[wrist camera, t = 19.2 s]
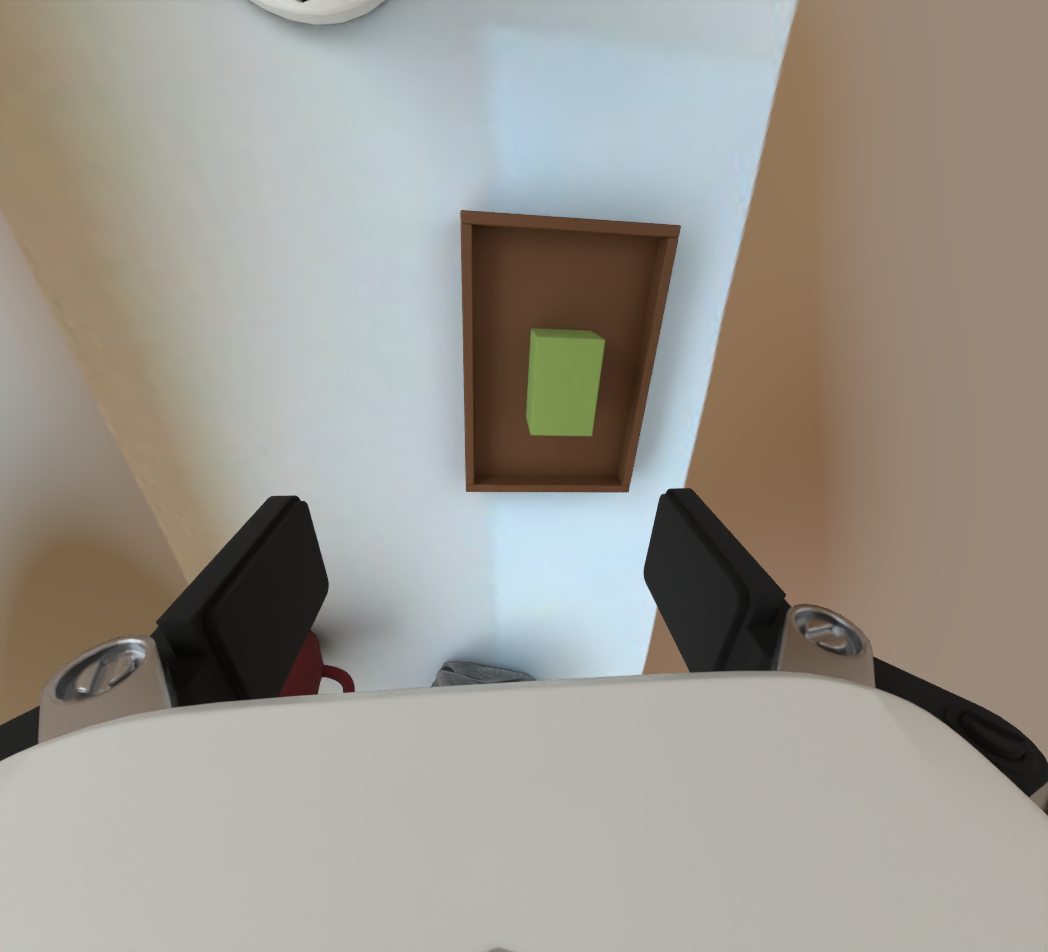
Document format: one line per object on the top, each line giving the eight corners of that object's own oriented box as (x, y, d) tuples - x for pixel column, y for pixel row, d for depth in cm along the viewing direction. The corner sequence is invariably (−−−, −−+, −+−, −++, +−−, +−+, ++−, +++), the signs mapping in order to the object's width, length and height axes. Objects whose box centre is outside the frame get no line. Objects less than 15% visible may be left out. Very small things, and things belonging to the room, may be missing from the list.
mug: (368, 612, 36) (329, 722, 28) (369, 670, 40) (335, 785, 31) (242, 606, 35) (159, 720, 26) (255, 667, 39) (187, 786, 30)
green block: (530, 327, 26) (536, 336, 22) (591, 330, 26) (605, 339, 23) (525, 417, 28) (530, 435, 25) (581, 418, 29) (592, 436, 26)
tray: (462, 214, 23) (460, 210, 21) (666, 228, 24) (681, 225, 22) (467, 478, 31) (466, 491, 29) (620, 479, 32) (628, 492, 30)
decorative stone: (471, 780, 45) (454, 876, 35) (394, 688, 44) (353, 759, 34) (573, 705, 44) (586, 781, 34) (496, 610, 43) (485, 659, 33)
